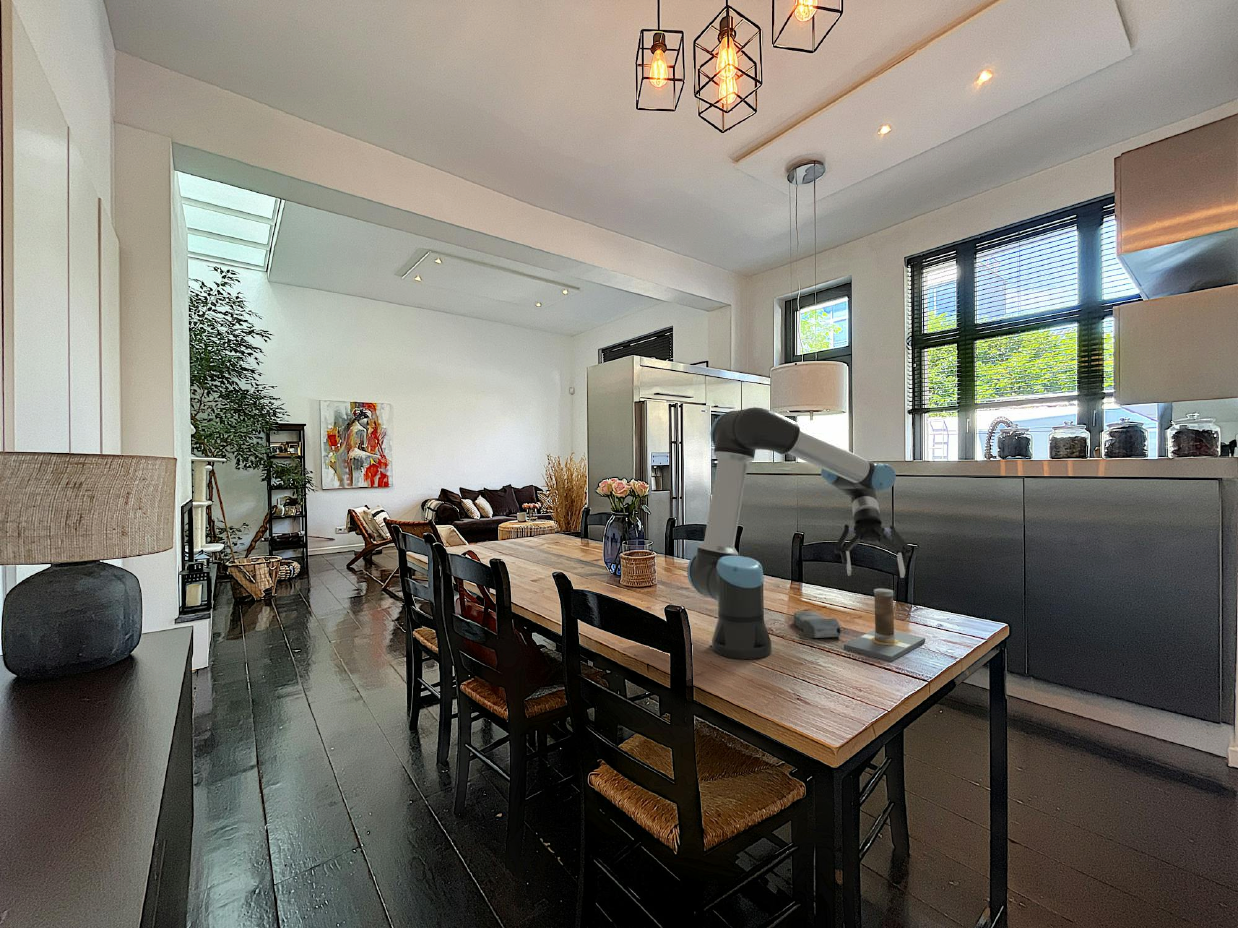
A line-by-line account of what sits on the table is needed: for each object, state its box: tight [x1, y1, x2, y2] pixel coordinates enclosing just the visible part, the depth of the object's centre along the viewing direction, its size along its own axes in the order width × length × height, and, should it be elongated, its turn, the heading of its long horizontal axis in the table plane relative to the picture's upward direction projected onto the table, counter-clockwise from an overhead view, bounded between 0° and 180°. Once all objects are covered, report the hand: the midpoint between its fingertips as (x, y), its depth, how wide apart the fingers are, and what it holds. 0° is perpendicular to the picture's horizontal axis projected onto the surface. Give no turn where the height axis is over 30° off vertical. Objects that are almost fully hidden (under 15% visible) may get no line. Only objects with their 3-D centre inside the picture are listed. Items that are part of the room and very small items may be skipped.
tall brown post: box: [873, 588, 895, 643], centre depth 140 cm, size 5×5×13 cm
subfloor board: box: [843, 629, 926, 662], centre depth 140 cm, size 20×12×1 cm, turn 130°
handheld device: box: [793, 610, 842, 639], centre depth 155 cm, size 10×20×5 cm, turn 4°
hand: (875, 573), depth 149 cm, fingers open, 13 cm apart
